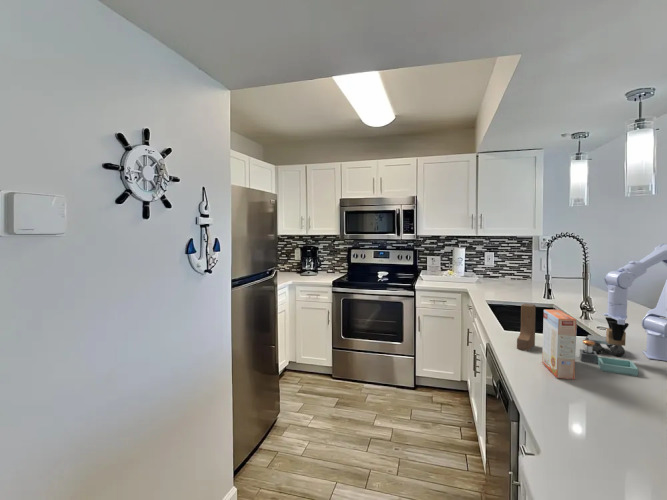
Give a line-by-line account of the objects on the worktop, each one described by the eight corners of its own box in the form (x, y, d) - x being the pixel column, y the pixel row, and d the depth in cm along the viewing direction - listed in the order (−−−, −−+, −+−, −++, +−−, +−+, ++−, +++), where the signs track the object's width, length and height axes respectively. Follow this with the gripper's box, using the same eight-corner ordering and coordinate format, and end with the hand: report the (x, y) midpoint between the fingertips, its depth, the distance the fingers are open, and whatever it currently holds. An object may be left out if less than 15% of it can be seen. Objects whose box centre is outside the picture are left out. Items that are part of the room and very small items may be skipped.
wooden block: (528, 351, 144) (528, 308, 143) (516, 348, 147) (517, 306, 146) (535, 345, 150) (535, 304, 149) (523, 343, 153) (524, 303, 152)
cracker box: (576, 380, 117) (577, 319, 116) (555, 378, 119) (557, 318, 117) (559, 363, 131) (560, 309, 129) (541, 362, 132) (542, 308, 131)
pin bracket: (595, 358, 135) (595, 351, 135) (597, 363, 130) (597, 355, 130) (579, 356, 137) (579, 349, 137) (581, 361, 133) (581, 353, 133)
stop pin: (593, 359, 134) (593, 340, 134) (594, 362, 131) (595, 343, 131) (581, 357, 136) (582, 339, 136) (583, 360, 133) (583, 342, 133)
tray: (631, 367, 126) (631, 360, 126) (637, 376, 119) (638, 369, 119) (597, 362, 131) (597, 356, 131) (601, 370, 124) (601, 364, 124)
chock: (622, 342, 133) (622, 329, 133) (625, 345, 130) (625, 332, 129) (606, 340, 135) (606, 328, 135) (608, 343, 132) (608, 330, 132)
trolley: (618, 348, 144) (618, 336, 144) (624, 357, 135) (625, 344, 135) (584, 344, 150) (585, 333, 150) (588, 352, 141) (589, 340, 140)
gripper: (600, 298, 140) (599, 331, 141) (608, 306, 127) (606, 342, 128) (622, 300, 136) (621, 334, 137) (633, 308, 124) (631, 345, 125)
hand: (615, 338), depth 132 cm, fingers closed on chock, 4 cm apart
